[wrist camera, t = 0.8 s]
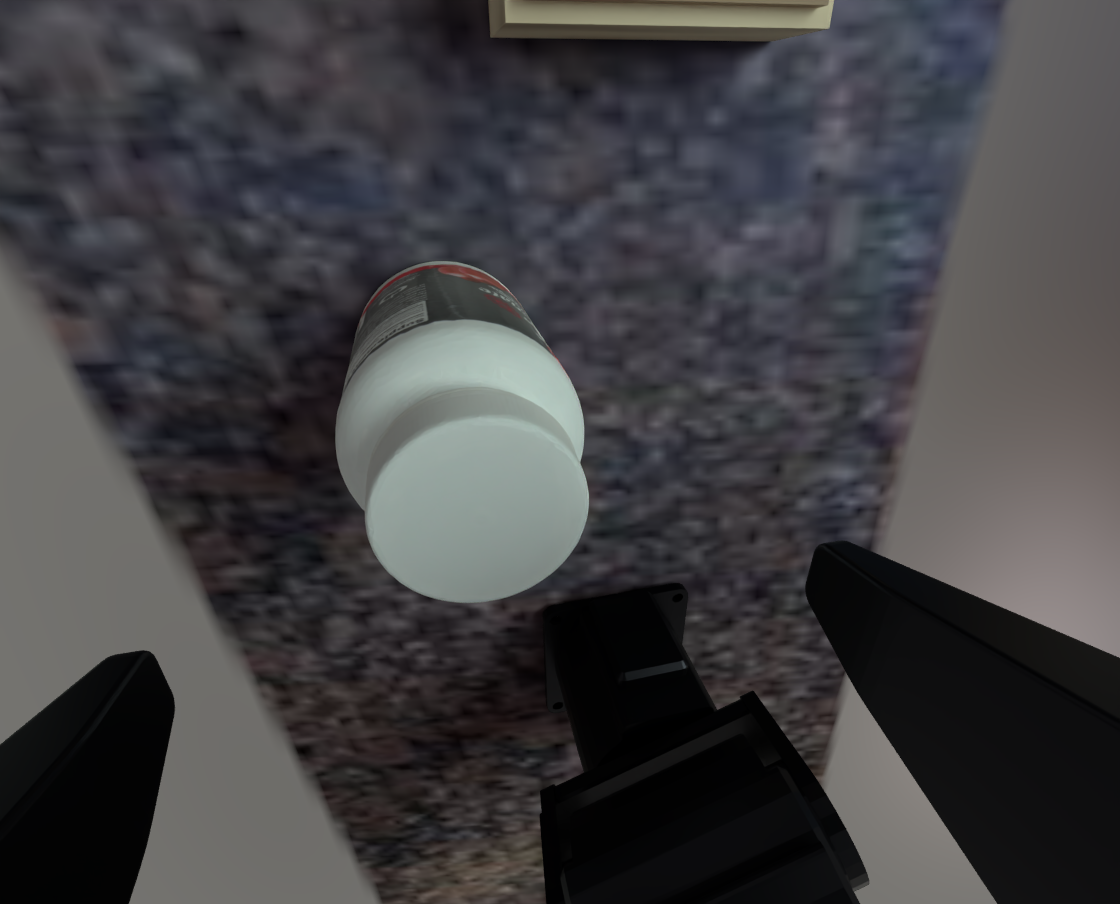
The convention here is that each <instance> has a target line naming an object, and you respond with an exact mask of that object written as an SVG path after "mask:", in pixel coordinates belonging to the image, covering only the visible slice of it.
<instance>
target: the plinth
mask: <svg viewBox="0 0 1120 904" xmlns="http://www.w3.org/2000/svg"><path fill="white" fill-rule="evenodd" d="M833 3H834V0H488V5H489V22H490V38H551V39H627V40H702V41H776V40H781V39H785V38H790V37H794V36H799V35H803V34H807V33H812V32H816V31H821V30H825V29H829V26H830V20H831V15H832V9H833Z"/></svg>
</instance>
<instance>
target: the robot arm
mask: <svg viewBox="0 0 1120 904" xmlns="http://www.w3.org/2000/svg"><path fill="white" fill-rule="evenodd" d="M805 591H806V596H807V600H808V602H809V604H810V606H811V608H812V610H813V612H814V613H815V615H816V617H817V619H818V621H819V623H820V625H821V627H822V628H823V630H824V632H825V634H826V636H827V638H828V640H829V641H830V643H831V645H832V647H833V649H834V651H835V653H836V654H837V656H838V658H839V660H840V662H841V664H842V666H843V668H844V669H845V671H846V673H847V675H848V677H849V679H850V680H851V682H852V684H853V686H854V687H855V689H856V691H857V693H858V694H859V696H860V697H861V699H862V700H863V702H864V704H865V705H866V707H867V708H868V710H869V711H870V713H871V714H872V716H873V717H874V719H875V720H876V722H877V723H878V725H879V726H880V728H881V729H882V731H883V732H884V734H885V735H886V737H887V738H888V740H889V741H890V743H891V744H892V746H893V747H894V749H895V750H896V752H897V753H898V755H899V756H900V758H901V759H902V761H903V762H904V764H905V765H906V767H907V768H908V770H909V771H910V773H911V774H912V776H913V777H914V779H915V781H916V782H917V784H918V785H919V787H920V788H921V790H922V791H923V792H924V794H925V795H926V797H927V798H928V800H929V802H930V803H931V805H932V806H933V808H934V809H935V810H936V812H937V814H938V815H939V817H940V818H941V819H942V821H943V823H944V824H945V826H946V827H947V829H948V830H949V832H950V833H951V835H952V836H953V838H954V839H955V840H956V842H957V843H958V845H959V847H960V848H961V850H962V851H963V853H964V854H965V856H966V857H967V859H968V860H969V862H970V863H971V865H972V866H973V868H974V869H975V871H976V872H977V874H978V875H979V877H980V878H981V880H982V881H983V883H984V884H985V886H986V887H987V889H988V890H989V892H990V893H991V895H992V896H993V898H994V899H995V901H996V902H997V904H1120V658H1119V657H1116V656H1114V655H1112V654H1109V653H1107V652H1105V651H1102V650H1100V649H1098V648H1095V647H1093V646H1091V645H1088V644H1086V643H1084V642H1081V641H1079V640H1077V639H1074V638H1072V637H1070V636H1067V635H1065V634H1063V633H1060V632H1058V631H1056V630H1053V629H1051V628H1049V627H1046V626H1044V625H1042V624H1039V623H1037V622H1035V621H1032V620H1030V619H1028V618H1025V617H1023V616H1021V615H1018V614H1016V613H1014V612H1011V611H1009V610H1007V609H1004V608H1002V607H1000V606H997V605H995V604H993V603H990V602H988V601H986V600H983V599H981V598H979V597H976V596H974V595H972V594H969V593H967V592H965V591H962V590H960V589H958V588H955V587H953V586H951V585H948V584H946V583H944V582H941V581H939V580H937V579H934V578H932V577H930V576H927V575H925V574H923V573H920V572H918V571H916V570H913V569H911V568H909V567H906V566H904V565H902V564H899V563H897V562H895V561H893V560H890V559H888V558H886V557H883V556H881V555H879V554H876V553H874V552H872V551H869V550H867V549H865V548H862V547H860V546H858V545H855V544H853V543H851V542H848V541H835V542H828V543H823V544H820V545H818V547H817V548H816V549H815V551H814V554H813V558H812V562H811V566H810V569H809V573H808V577H807V581H806V586H805ZM676 594H677V595H676ZM674 595H675V596H674ZM687 601H688V593H687V591H686V589H685V588H684V586H683V585H682V584H680V583H674V584H668V585H663V586H657V587H652V588H646V589H641V590H635V591H629V592H624V593H618V594H613V595H607V596H602V597H596V598H591V599H585V600H579V601H574V602H568V603H563V604H557V605H553V606H550V607H548V608H547V609H545V611H544V612H543V639H544V665H545V692H546V703H547V707H548V710H549V711H550V712H552V713H559V712H564V711H567V714H568V717H569V721H570V725H571V728H572V732H573V735H574V739H575V742H576V746H577V750H578V753H579V757H580V760H581V764H582V767H583V771H584V773H583V774H581V775H578V776H576V777H574V778H572V779H570V780H568V781H566V782H564V783H561V784H559V785H557V786H555V785H554V784H553V785H551V786H549V787H547V788H544V789H542V790H541V791H540V796H541V809H542V813H541V814H540V827H541V840H542V853H543V866H544V879H545V891H546V904H860V903H859V901H858V899H857V897H856V895H855V893H854V891H856V890H859V889H861V888H863V887H865V886H867V885H869V878H868V875H867V872H866V869H865V867H864V865H863V862H862V860H861V858H860V856H859V854H858V851H857V849H856V847H855V845H854V843H853V841H852V840H851V837H850V836H849V834H848V832H847V830H846V828H845V826H844V824H843V823H842V821H841V819H840V817H839V816H838V814H837V812H836V810H835V808H834V807H833V805H832V803H831V802H830V800H829V798H828V796H827V795H826V793H825V792H824V790H823V788H822V787H821V785H820V784H819V782H818V781H817V779H816V778H815V776H814V775H813V773H812V772H811V770H810V769H809V767H808V766H807V765H806V763H805V762H804V760H803V759H802V758H801V756H800V755H799V753H798V752H797V751H796V749H795V748H794V747H793V745H792V744H791V742H790V741H789V740H788V738H787V737H786V735H785V734H784V733H783V731H782V730H781V728H780V727H779V726H778V724H777V723H776V721H775V720H774V719H773V717H772V716H771V715H770V713H769V712H768V710H767V709H766V708H765V706H764V705H763V703H762V702H761V701H760V699H759V698H758V696H757V695H756V694H755V692H754V691H751V692H748V693H746V694H744V695H742V696H740V700H738V701H736V702H733V703H731V704H729V705H727V706H725V707H723V708H721V709H719V710H717V709H716V707H715V705H714V703H713V701H712V699H711V697H710V696H709V694H708V692H707V690H706V688H705V686H704V684H703V683H702V681H701V679H700V677H699V675H698V673H697V671H696V670H695V668H694V666H693V664H692V662H691V660H690V658H689V657H688V655H687V653H686V651H685V649H684V647H683V645H682V641H683V633H684V625H685V617H686V609H687ZM555 616H558V617H556V618H553V617H555ZM174 712H175V704H174V697H173V694H172V691H171V689H170V687H169V685H168V683H167V681H166V679H165V676H164V675H163V672H162V670H161V668H160V666H159V664H158V661H157V660H156V658H155V656H154V655H153V654H152V653H151V652H149V651H144V650H143V651H135V652H129V653H123V654H117V655H113V656H110V657H108V658H106V659H105V660H103V661H102V662H100V663H99V664H98V665H97V666H96V667H94V668H93V669H92V670H91V671H89V672H88V673H87V674H86V675H85V676H83V677H82V678H81V679H80V680H79V681H77V682H76V683H75V684H74V685H72V686H71V687H70V688H69V689H67V690H66V691H65V692H64V693H63V694H61V695H60V696H59V697H58V698H56V699H55V700H54V701H53V702H52V703H50V704H49V705H48V706H47V707H46V708H44V709H43V710H42V711H41V712H39V713H38V714H37V715H36V716H35V717H33V718H32V719H31V720H30V721H28V722H27V723H26V724H25V725H24V726H22V727H21V728H20V729H19V730H17V731H16V732H15V733H14V734H13V735H11V736H10V737H9V738H8V739H6V740H5V741H4V742H3V743H2V744H0V904H129V901H130V898H131V895H132V892H133V889H134V886H135V883H136V880H137V876H138V873H139V870H140V867H141V863H142V860H143V857H144V853H145V849H146V846H147V842H148V838H149V834H150V829H151V825H152V821H153V816H154V811H155V806H156V801H157V796H158V791H159V786H160V782H161V777H162V772H163V767H164V762H165V757H166V752H167V748H168V743H169V738H170V733H171V728H172V723H173V718H174Z"/></svg>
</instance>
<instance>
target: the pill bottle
mask: <svg viewBox="0 0 1120 904" xmlns="http://www.w3.org/2000/svg"><path fill="white" fill-rule="evenodd" d="M335 432H336V433H335V443H336V454H337V460H338V465H339V468H340V472H341V474H342V477H343V479H344V482H345V484H346V486H347V488H348V490H349V492H350V493H351V494H352V496H353V497H354V499H355V500H356V501H357V503H358V504H359V505H360V507H361V508H362V509H363V510H364V511H365V526H366V531H367V536H368V539H369V542H370V545H371V547H372V549H373V552H374V554H375V555H376V557H377V558H378V560H379V562H380V563H381V564H382V565H383V567H384V568H385V569H386V570H387V571H388V573H389V574H391V575H392V576H393V577H394V578H395V579H397V580H398V581H399V582H400V583H402V584H403V585H405V586H406V587H408V588H410V589H411V590H413V591H415V592H417V593H420V594H422V595H425V596H428V597H431V598H435V599H439V600H444V601H449V602H458V603H479V602H486V601H492V600H498V599H502V598H506V597H509V596H512V595H514V594H517V593H519V592H521V591H524V590H526V589H528V588H531V587H532V586H534V585H535V584H537V583H539V582H540V581H542V580H543V579H545V578H546V577H547V576H549V575H550V574H551V573H553V572H554V571H555V570H556V569H557V568H558V567H559V566H560V565H561V564H562V563H563V562H564V561H565V560H566V559H567V557H568V556H569V555H570V554H571V552H572V550H573V549H574V548H575V546H576V545H577V543H578V541H579V539H580V537H581V534H582V532H583V530H584V526H585V523H586V520H587V515H588V506H589V493H588V487H587V482H586V477H585V475H584V472H583V469H582V467H581V464H580V461H581V457H582V452H583V445H584V421H583V414H582V410H581V406H580V402H579V399H578V396H577V394H576V391H575V389H574V387H573V385H572V383H571V380H570V378H569V377H568V375H567V373H566V372H565V370H564V368H563V367H562V366H561V364H560V362H559V361H558V359H557V358H556V357H555V356H554V354H553V353H552V351H551V349H550V348H549V346H548V345H547V344H546V342H545V341H544V339H543V338H542V336H541V335H540V333H539V332H538V330H537V329H536V327H535V326H534V325H533V323H532V321H531V320H530V318H529V317H528V315H527V313H526V312H525V310H524V309H523V307H522V306H521V304H520V303H519V302H518V300H517V299H516V298H515V297H514V296H513V294H512V293H511V292H510V291H509V290H508V289H507V288H506V287H505V286H504V285H503V284H502V283H501V282H499V281H498V280H497V279H495V278H494V277H493V276H491V275H489V274H488V273H486V272H484V271H482V270H480V269H478V268H475V267H472V266H469V265H466V264H462V263H457V262H449V261H433V262H426V263H422V264H418V265H415V266H412V267H409V268H407V269H405V270H403V271H401V272H399V273H397V274H396V275H394V276H393V277H391V278H390V279H388V280H387V281H386V282H385V283H383V284H382V285H381V286H380V287H379V288H378V289H377V291H376V292H375V293H374V294H373V296H372V297H371V299H370V300H369V302H368V303H367V305H366V307H365V309H364V311H363V314H362V316H361V319H360V322H359V324H358V328H357V331H356V335H355V340H354V344H353V348H352V354H351V358H350V363H349V368H348V372H347V376H346V379H345V384H344V389H343V393H342V398H341V402H340V405H339V408H338V410H337V419H336V428H335Z"/></svg>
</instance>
